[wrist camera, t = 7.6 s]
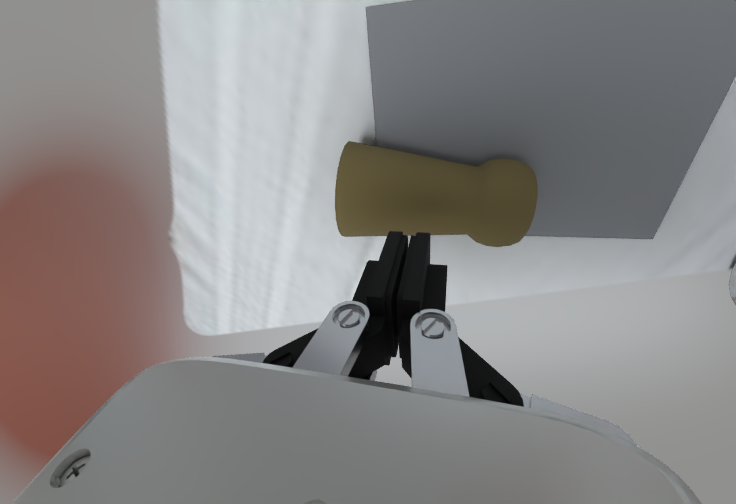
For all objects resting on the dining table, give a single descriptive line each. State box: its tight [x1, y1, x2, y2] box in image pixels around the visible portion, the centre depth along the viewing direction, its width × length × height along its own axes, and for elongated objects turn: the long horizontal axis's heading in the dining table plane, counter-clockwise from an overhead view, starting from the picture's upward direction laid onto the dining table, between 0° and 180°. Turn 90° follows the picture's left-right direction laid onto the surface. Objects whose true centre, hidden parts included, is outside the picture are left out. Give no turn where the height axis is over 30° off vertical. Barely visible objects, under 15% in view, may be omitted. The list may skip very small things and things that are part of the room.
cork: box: [335, 141, 538, 247], centre depth 19 cm, size 6×6×11 cm
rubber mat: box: [366, 0, 736, 239], centre depth 19 cm, size 18×14×1 cm
